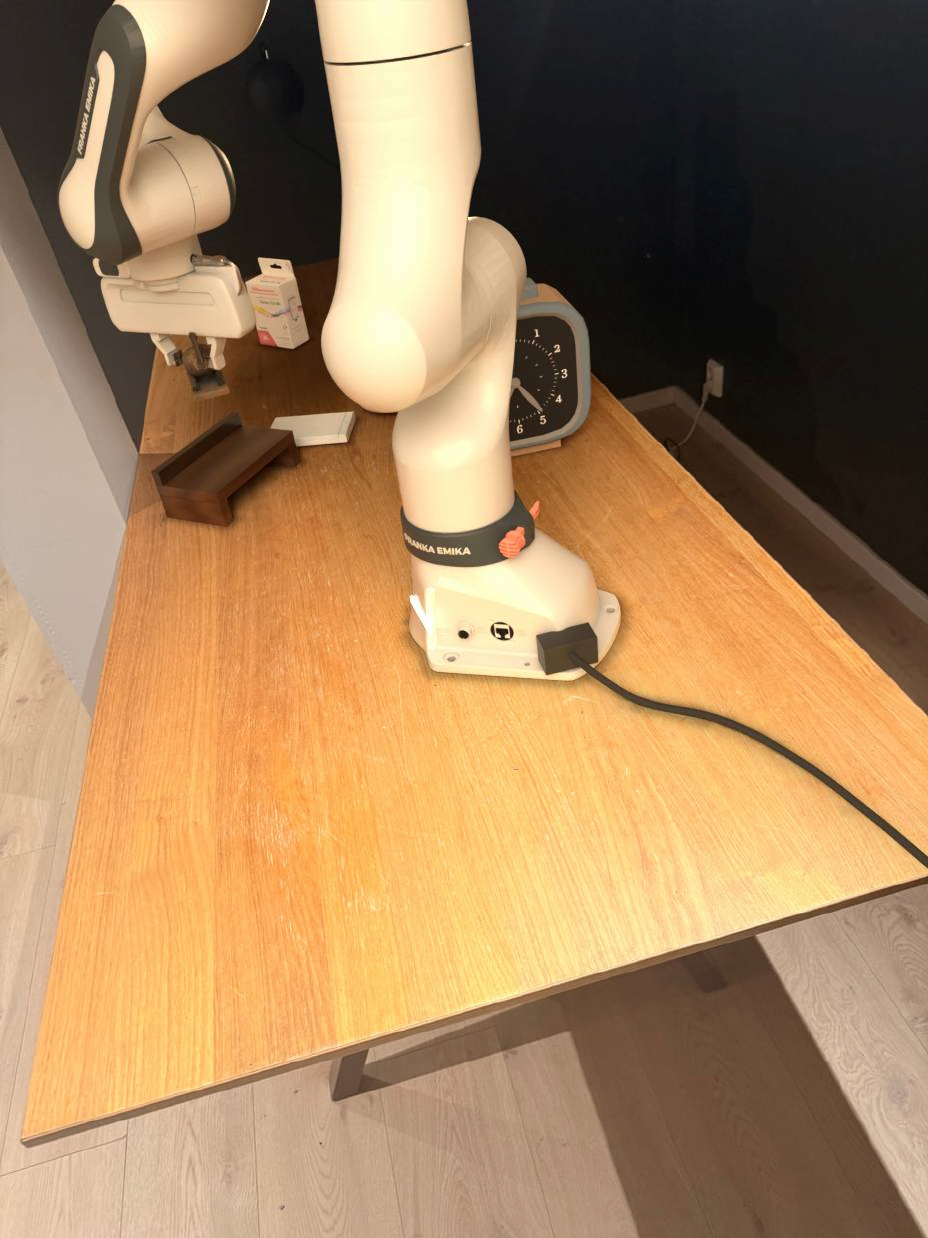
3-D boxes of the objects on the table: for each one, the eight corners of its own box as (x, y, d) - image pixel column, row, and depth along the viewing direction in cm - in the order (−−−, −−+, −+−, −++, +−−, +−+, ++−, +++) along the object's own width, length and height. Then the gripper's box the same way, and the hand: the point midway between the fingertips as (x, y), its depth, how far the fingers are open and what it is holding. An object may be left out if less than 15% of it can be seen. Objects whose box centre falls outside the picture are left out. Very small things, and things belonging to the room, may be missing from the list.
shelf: (300, 461, 137) (289, 417, 133) (226, 526, 124) (211, 479, 120) (244, 455, 141) (231, 411, 137) (167, 517, 128) (150, 471, 124)
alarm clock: (449, 473, 129) (426, 315, 116) (436, 443, 136) (413, 292, 123) (594, 442, 131) (588, 284, 118) (574, 415, 138) (566, 264, 125)
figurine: (235, 404, 117) (215, 336, 112) (199, 414, 117) (177, 345, 111) (220, 368, 128) (200, 305, 123) (187, 377, 127) (166, 313, 122)
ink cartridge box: (259, 345, 178) (238, 265, 169) (276, 335, 181) (257, 256, 172) (293, 349, 174) (274, 268, 165) (310, 339, 177) (292, 258, 168)
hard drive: (263, 440, 140) (345, 433, 139) (275, 416, 147) (354, 408, 145) (266, 450, 141) (347, 443, 140) (278, 426, 148) (356, 418, 146)
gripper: (250, 247, 110) (278, 361, 118) (116, 245, 118) (151, 352, 126) (217, 264, 106) (249, 382, 114) (81, 261, 114) (119, 371, 122)
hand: (196, 366), depth 120 cm, fingers closed on figurine, 5 cm apart
